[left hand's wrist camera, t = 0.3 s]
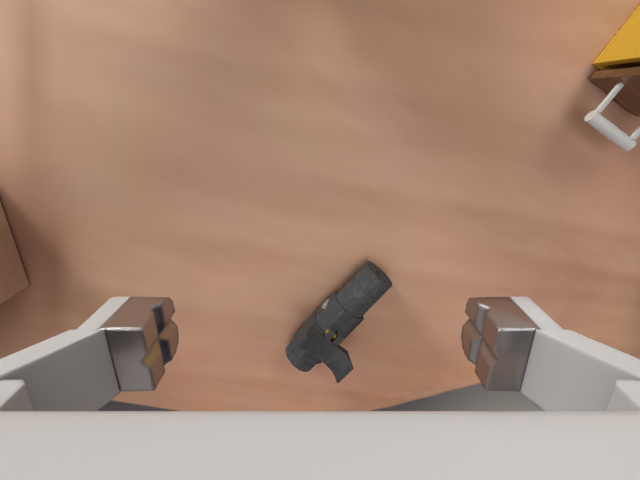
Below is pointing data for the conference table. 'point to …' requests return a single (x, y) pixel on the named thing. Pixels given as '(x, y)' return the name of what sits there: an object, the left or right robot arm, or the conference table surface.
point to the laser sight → (337, 323)
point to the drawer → (626, 88)
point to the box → (9, 263)
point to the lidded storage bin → (622, 45)
